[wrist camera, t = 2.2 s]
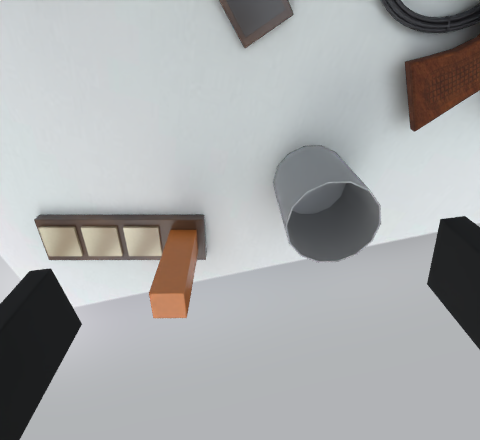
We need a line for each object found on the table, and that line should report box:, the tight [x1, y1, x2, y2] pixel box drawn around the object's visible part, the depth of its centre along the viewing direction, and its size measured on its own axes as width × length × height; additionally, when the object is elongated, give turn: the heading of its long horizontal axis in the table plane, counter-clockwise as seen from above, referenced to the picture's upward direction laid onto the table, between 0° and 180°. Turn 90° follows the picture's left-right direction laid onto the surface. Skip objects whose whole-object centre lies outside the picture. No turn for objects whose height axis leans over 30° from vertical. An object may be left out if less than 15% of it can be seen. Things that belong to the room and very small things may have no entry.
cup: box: [273, 146, 381, 262], centre depth 32 cm, size 8×8×10 cm
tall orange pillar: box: [149, 230, 198, 318], centre depth 34 cm, size 3×3×11 cm
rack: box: [34, 215, 206, 260], centre depth 39 cm, size 20×6×2 cm, turn 89°
